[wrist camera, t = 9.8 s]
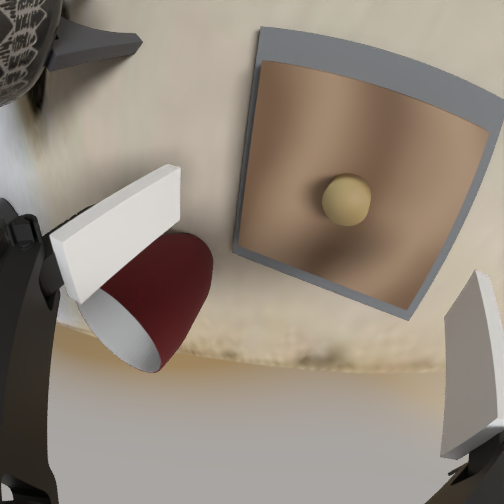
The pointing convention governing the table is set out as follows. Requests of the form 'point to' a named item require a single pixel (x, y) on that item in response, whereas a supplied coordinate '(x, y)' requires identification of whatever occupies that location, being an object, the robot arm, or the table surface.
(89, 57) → the planter
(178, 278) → the mug
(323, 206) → the lid
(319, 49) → the mat
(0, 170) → the table surface
